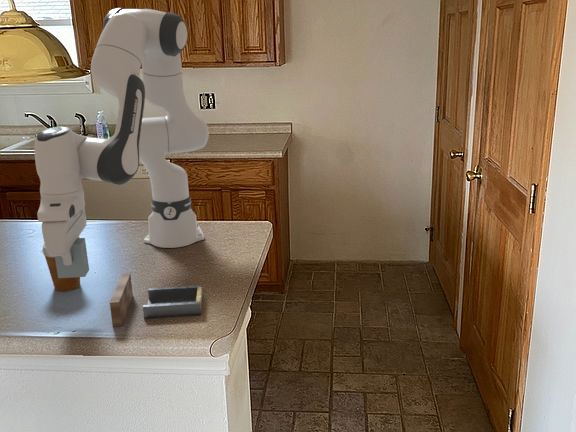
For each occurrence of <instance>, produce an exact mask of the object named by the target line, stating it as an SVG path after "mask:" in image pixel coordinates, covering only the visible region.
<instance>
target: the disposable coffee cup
mask: <svg viewBox="0 0 576 432" xmlns="http://www.w3.org/2000/svg"><path fill="white" fill-rule="evenodd" d="M41 253H42V254H43V256H44V258H45V261H46V264H47V268H48V270H49V271H48V272H49V276H50V277H51V281H52V285H53V287H54V290H55V291H58V292H68V291H69V292H70V291H73V290H77V288H79V287H80V285H81V277H72V278H58V274H57V267H56V261H55V256H49V254H48V253H47V251H46V247H45V243H44V244H43V245H42V249H41Z"/></svg>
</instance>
